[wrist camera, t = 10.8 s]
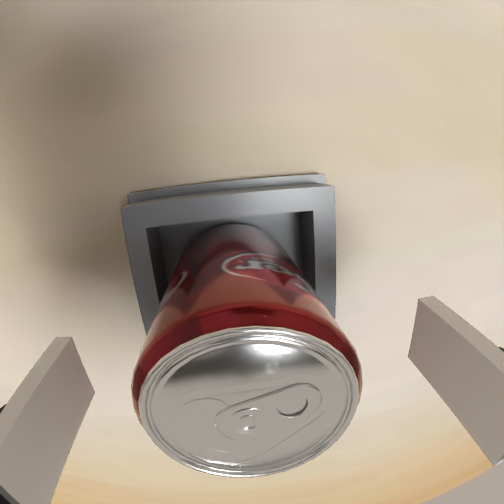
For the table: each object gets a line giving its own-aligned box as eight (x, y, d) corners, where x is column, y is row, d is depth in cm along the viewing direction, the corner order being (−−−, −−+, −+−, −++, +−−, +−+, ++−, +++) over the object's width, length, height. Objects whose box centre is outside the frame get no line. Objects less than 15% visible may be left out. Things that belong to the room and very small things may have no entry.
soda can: (204, 343, 21) (197, 495, 9) (157, 247, 19) (78, 362, 7) (304, 306, 21) (379, 440, 9) (269, 203, 18) (344, 268, 7)
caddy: (131, 192, 18) (110, 199, 15) (319, 173, 19) (342, 176, 15) (163, 355, 22) (155, 389, 18) (322, 338, 23) (339, 368, 19)
